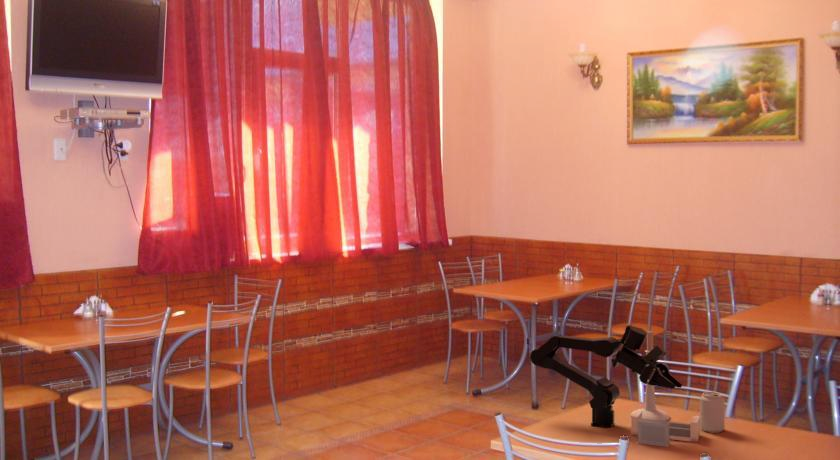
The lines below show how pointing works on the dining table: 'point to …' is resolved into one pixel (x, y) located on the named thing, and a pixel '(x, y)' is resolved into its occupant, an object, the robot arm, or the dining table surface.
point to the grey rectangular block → (653, 432)
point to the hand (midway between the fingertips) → (678, 386)
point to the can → (712, 412)
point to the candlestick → (651, 394)
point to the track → (673, 428)
